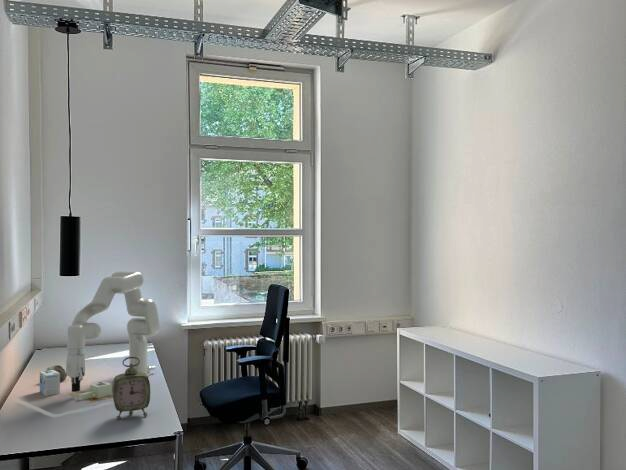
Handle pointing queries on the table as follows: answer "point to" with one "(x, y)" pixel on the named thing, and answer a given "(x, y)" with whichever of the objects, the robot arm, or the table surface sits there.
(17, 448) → the table surface
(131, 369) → the tabletop clock
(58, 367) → the carved stone stamp
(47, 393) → the light bulb box
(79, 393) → the board
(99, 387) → the hollow frame with stem
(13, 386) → the table surface
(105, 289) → the robot arm
